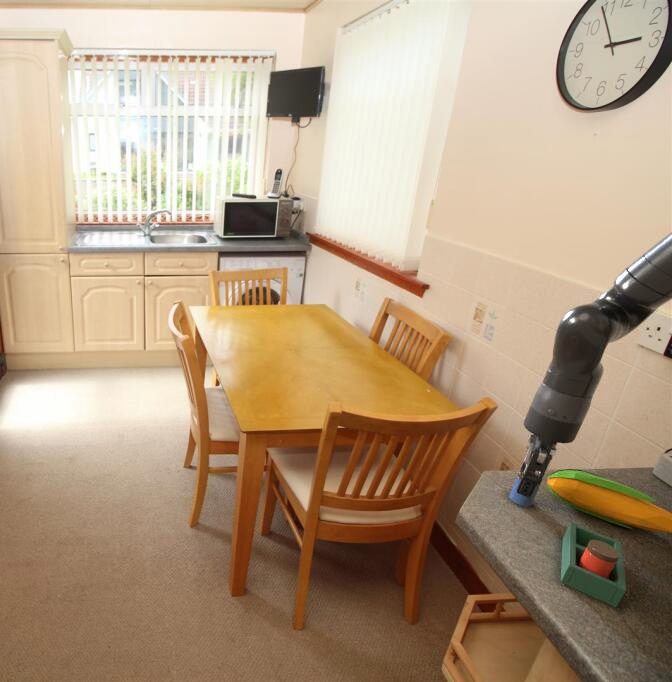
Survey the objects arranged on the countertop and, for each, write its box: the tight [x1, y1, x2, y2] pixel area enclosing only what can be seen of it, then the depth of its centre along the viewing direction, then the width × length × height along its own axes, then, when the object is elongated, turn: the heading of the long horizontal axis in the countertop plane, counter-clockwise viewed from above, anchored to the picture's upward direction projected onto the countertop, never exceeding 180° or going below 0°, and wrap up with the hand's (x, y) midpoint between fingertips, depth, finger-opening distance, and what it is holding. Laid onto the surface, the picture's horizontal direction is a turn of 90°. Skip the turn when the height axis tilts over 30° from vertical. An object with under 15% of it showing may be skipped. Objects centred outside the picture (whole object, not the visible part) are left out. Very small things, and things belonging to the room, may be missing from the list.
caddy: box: [560, 521, 627, 608], centre depth 76 cm, size 7×12×4 cm, turn 140°
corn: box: [546, 468, 672, 534], centre depth 87 cm, size 7×8×20 cm
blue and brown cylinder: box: [508, 469, 543, 508], centre depth 91 cm, size 4×4×6 cm
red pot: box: [577, 540, 620, 579], centre depth 73 cm, size 4×4×6 cm
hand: (525, 483), depth 90 cm, fingers open, 8 cm apart
